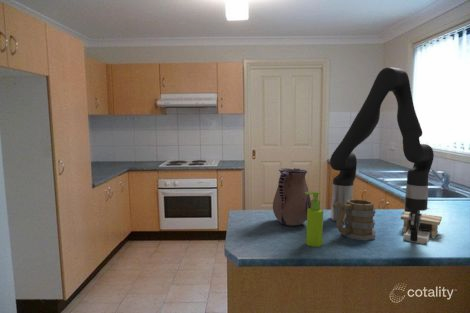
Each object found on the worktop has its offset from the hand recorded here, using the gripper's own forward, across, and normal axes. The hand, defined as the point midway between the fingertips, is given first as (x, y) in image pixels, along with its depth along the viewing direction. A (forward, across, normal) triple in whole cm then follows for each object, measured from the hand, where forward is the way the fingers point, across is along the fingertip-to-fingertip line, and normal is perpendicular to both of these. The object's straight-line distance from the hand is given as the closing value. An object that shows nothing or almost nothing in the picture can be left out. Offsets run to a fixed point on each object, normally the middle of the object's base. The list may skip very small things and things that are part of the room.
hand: (413, 240), depth 126 cm
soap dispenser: (+1, -26, +30) cm, 40 cm away
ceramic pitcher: (+1, -8, +49) cm, 50 cm away
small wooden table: (+1, +18, 0) cm, 18 cm away
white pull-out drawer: (+1, +9, 0) cm, 9 cm away
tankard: (+1, -7, +22) cm, 23 cm away
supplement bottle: (+1, +52, +9) cm, 53 cm away
